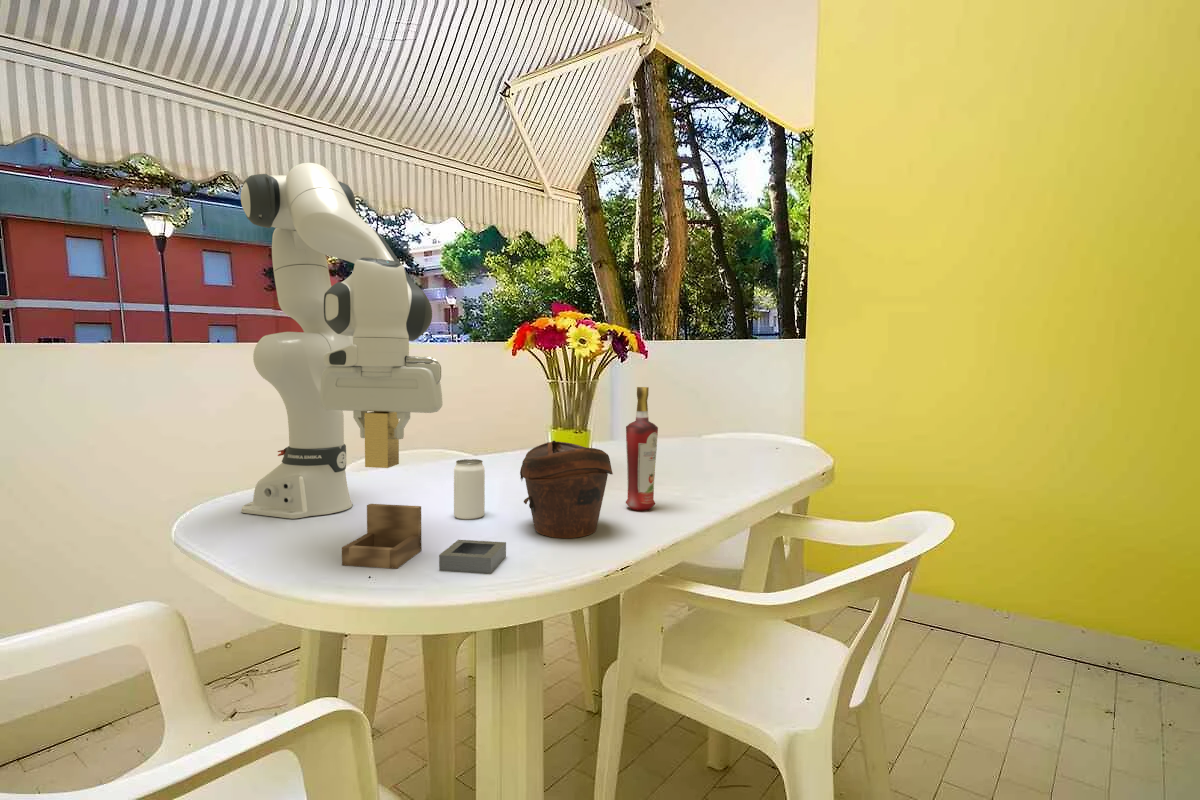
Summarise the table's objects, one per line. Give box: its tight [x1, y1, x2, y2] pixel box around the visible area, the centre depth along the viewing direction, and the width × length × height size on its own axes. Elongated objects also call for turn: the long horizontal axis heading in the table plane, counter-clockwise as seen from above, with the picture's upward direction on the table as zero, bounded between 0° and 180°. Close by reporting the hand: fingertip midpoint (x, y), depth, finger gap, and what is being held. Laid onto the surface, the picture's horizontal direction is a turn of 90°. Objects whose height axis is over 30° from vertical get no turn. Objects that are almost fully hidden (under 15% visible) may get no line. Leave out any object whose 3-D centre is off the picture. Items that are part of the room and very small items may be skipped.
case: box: [519, 440, 614, 539], centre depth 124 cm, size 18×20×18 cm
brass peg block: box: [364, 411, 400, 469], centre depth 104 cm, size 4×4×13 cm
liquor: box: [625, 386, 659, 512], centre depth 142 cm, size 7×7×28 cm
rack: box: [341, 503, 422, 570], centre depth 105 cm, size 10×10×8 cm
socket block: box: [438, 539, 507, 575], centre depth 103 cm, size 9×9×2 cm
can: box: [453, 458, 486, 521], centre depth 133 cm, size 6×6×12 cm
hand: (382, 438), depth 104 cm, fingers closed on brass peg block, 4 cm apart
